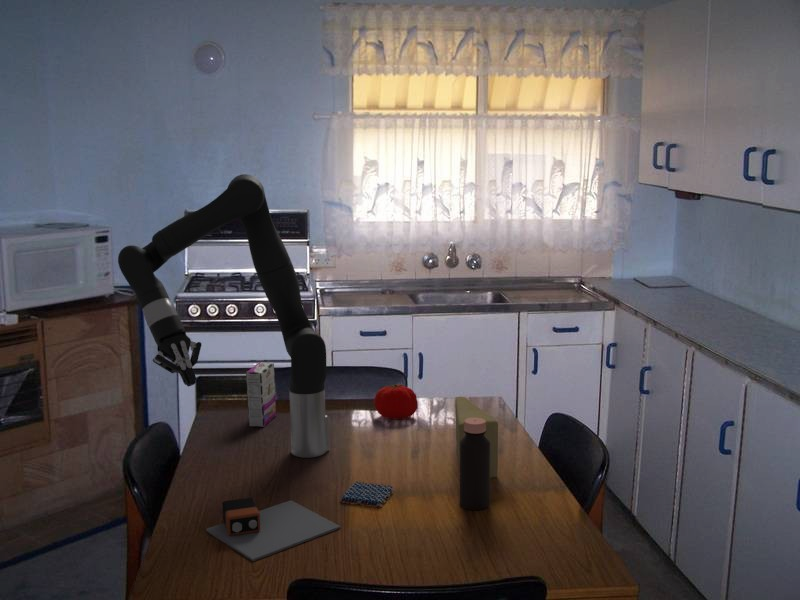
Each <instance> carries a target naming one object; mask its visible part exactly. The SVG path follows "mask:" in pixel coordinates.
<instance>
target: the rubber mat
mask: <svg viewBox="0 0 800 600" xmlns="http://www.w3.org/2000/svg"><path fill="white" fill-rule="evenodd" d="M258 511H259V514H260V531H259V532H253V533H246V534H240V535H233V536H229V535H228V532H227V529H226V526H225V523H224V522H223V523H220V524H217V525H214V526H210V527H207V528H206V529H205V530H206V532H207V533H208V534H209V535H211V536H213V537H215V538H216V539H218V540H219V541H220V542H222V543H224V544H225V545H227V546H228V547H230V548H231V549H233V550H235V551H236V552H238V553H239V554H241V555H242V556H244V557H245V558H247V559H248V560H249V561H251V562H255V561H258V560H260V559H263V558H265V557H269V556H272V555H274V554H277V553H279V552H282V551H285V550H287V549H290V548H292V547H295V546H299V545H300V544H303V543H305V542H308V541H311V540H314V539H315V538H316V539H317V538H319V537H321V536H324V535H327V534H329V533H332V532H334V531H337V530H340V529H341V525H339V524H337V523H335V522H333V521H331V520H330V519H328V518H326V517H323V516H321V514H318V513H316V512H314V511H313V510H310V509H309V508H307V507H305V506H303V505H301V504H299V503H298V502H295V501H293V500H292V499H290V500H289V501H284V502H282V503H279V504H275V505H273V506H269V507H266V508H264V509H261V510H258Z"/></svg>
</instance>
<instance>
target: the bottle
mask: <svg viewBox="0 0 800 600" xmlns="http://www.w3.org/2000/svg"><path fill="white" fill-rule="evenodd" d="M464 433H465V436H464V437H463V438H462V440H461V441H460V467H459V505H460V506H461V507H462V508H463V509H465V510H470V511H482V510H486V509H487V508H489V506H490V498H491V497H490V494H491V493H490V488H491V487H490V485H491V478H490V442H489V440H488V439H487V438H486V437H485V436H484V435H485V433H486V420H484V419H482V418H476V417H475V418H467V419H465V420H464Z"/></svg>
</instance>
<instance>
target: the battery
mask: <svg viewBox="0 0 800 600" xmlns="http://www.w3.org/2000/svg"><path fill="white" fill-rule="evenodd" d="M221 504H222V505H221V506H222V507H221V508H222V519H223V523H225V526H226V529H227V532H228V535H229V536H233V535H240V534H246V533H253V532H259V531H260V514H259V511H260V510H259V509H258V507H257V504H256V502H255V500H254V498H253V497H245V498H237V499H229V500H223V501H222V503H221Z"/></svg>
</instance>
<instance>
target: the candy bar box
mask: <svg viewBox="0 0 800 600" xmlns="http://www.w3.org/2000/svg"><path fill="white" fill-rule="evenodd" d="M245 378H246V379H245V380H246V394H247V395H246V396H247V409H248V410H247V411H248V412H247V413H248V415H247V416H248V426H249V427H252V428H255V427H256V428H265V427H266V426H267V425H268V424H269V423H270V422H271V421H272V420H273V419H274V418H275V417H276V416H278V415H277V399H276V379H275V378H276V377H275V363H274V362H265V361H264V362H263V361H259V362H258V363H257V364H255V365H253V367H251V368H250V369H249V370H247V371H246V372H245Z"/></svg>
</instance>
